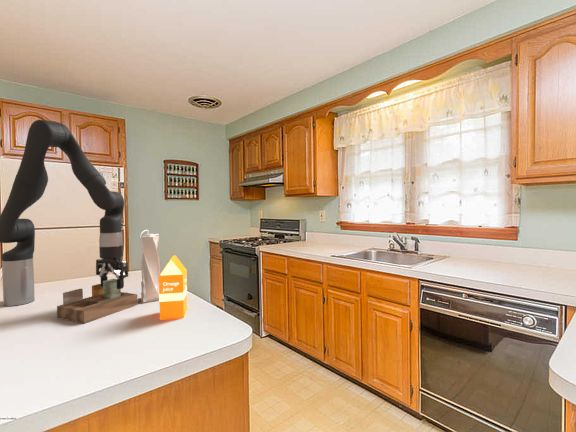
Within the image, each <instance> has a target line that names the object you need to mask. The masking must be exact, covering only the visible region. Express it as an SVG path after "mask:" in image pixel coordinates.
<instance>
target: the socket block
mask: <svg viewBox="0 0 576 432" xmlns="http://www.w3.org/2000/svg"><path fill="white" fill-rule="evenodd" d="M83 292H84V291H83V288H77V289H73V290H70V291H65V292H62V304H60V305H56V318H57V319H60V320H66V321H71V322H76V323H80V324H87V323H91V322H93V321H96V320H98V319H102V318H104V317H106V316H110V315H113V314H115V313H118V312H121V311H124V310H126V309H129V308H132V307H135V306H137V305H139V303H138V301H139V300H138V293H130V292H124V291H121V296H119V297H116V298H113V299H106V298H104V297H103V287H101V283H96V284H93V285H91V296H89V297H85V298H84V296H83V295H84V293H83Z"/></svg>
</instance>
